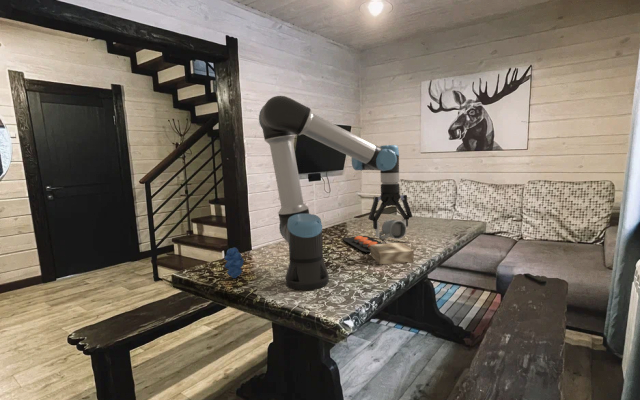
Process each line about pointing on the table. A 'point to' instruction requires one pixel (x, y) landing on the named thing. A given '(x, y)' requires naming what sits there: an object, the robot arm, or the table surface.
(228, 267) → the grapes
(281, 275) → the table surface
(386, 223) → the ceramic mug
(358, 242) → the sushi plate
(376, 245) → the birch block
